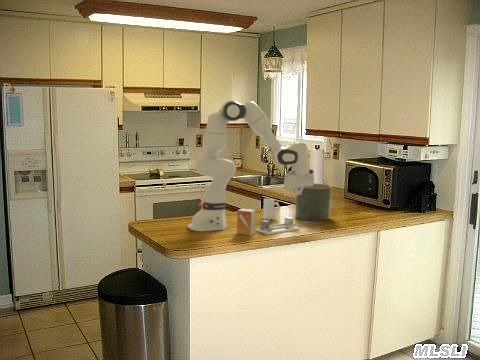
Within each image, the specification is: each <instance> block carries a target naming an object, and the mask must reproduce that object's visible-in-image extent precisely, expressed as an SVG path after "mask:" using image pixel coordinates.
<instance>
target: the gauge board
mask: <svg viewBox="0 0 480 360" xmlns="http://www.w3.org/2000/svg"><path fill="white" fill-rule="evenodd" d="M270 221H271V220H266V219H262V220H260V226H258V227H257V228H256V231H257V232H259V233H262V234H265V235H274V234H279V233H281V234H282V233H287V232H294V231H299V230H300V227H297V226H296V225H288V226H286V225H284V222H283V223H278V224H276V223H275V224H271V223H270Z"/></svg>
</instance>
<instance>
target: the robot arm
mask: <svg viewBox="0 0 480 360" xmlns="http://www.w3.org/2000/svg"><path fill="white" fill-rule="evenodd" d="M220 107H221V108H220V109H219V111H218V112H212V113H210V114H209V115H208V117H207V121H206V127H205V128H206V130H205V134H206V135H205V148H204V151H203V152H202V155H201V157H200V158H198V159H197V160H196V163H195V170H196V173H198V174H199V175H201V176H204V177H210V178H212V180H211V183H210V184H208V185H207V186H206V187H205V190H204V191H205V193H204V194H205V195H204V196H205V197H204V199H205V200H204V202H201V201H200V202H199V203H198V207H201V208H200V210H199V211H198V212H197V213H195V214H194V215H193V216H192V219H191V223H190V224H188V225H187V228H188V229H189V230H192V231H194V232H195V231H196V232H212V231H223V230H225V229H226V228H227V227H228V225H227V221H226V189H227V185H228V182H229V181H230V180H231V179H232V178H233V177H234V176H235V174H236V173H237V165H236V163H235V162H234V161H233V160H230V159H227V158H221V157H219V155H220V152H221V151H223V150H225V148H226V146H227V127H228V126H227V125H228V123H229V122H234V121H235V122H236V121H239V120H242V119H243V120H244V121H245V122H246V123H247V125H248V126H249V128H250V129H251V130H252V132H254V133H255V134H256V135H258V136H259V137H260V138H261V139H263V141H264V142H265V144H266V145H267V146H268V147H269V149H270V150H271V153H272V157H273V159H274V161H275V162H276V164H277V163H278V164H280V165H282V166H290V165H291V171H287V172H286V173H285V174H284V180H283V187H284V188H285V189H294V192H295V196H296V195H301V194H302V191H303V187H308V186H313V185H314V183H315V174H314V173H315V170H314V169H311V168H309V167H308V160H309V149H308V145H307V144H305V143H304V142H298V141H295V142H293V143H292V144H291V145H288V146H284V145H283V144H281V143H280V141H279V140H278V139H277V138H276V136H275V134H274V133H273V131H272V124H271V121H270V119H269V117H268V116H267V115H266V113H265V112H264V111H263V109H262V108H261V107H260V106H259V105H258V104H257V103H255V102H254V101H252V100H251V101H246V102H245V103H244V104H242V103H240V102H238V101H235V100H228V101H226V102H224V104H223V105H222V106H220ZM299 188H300V189H299ZM298 189H299V191H298Z"/></svg>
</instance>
